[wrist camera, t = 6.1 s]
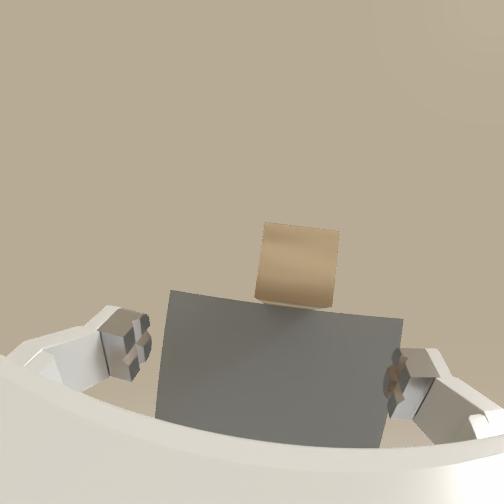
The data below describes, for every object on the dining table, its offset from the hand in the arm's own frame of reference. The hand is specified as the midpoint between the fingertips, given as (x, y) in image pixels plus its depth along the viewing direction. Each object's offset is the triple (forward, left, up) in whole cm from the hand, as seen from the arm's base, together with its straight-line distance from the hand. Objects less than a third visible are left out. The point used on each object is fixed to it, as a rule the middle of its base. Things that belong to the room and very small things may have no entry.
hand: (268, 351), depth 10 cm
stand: (-9, -14, -28) cm, 33 cm away
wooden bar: (-7, -10, +2) cm, 12 cm away
